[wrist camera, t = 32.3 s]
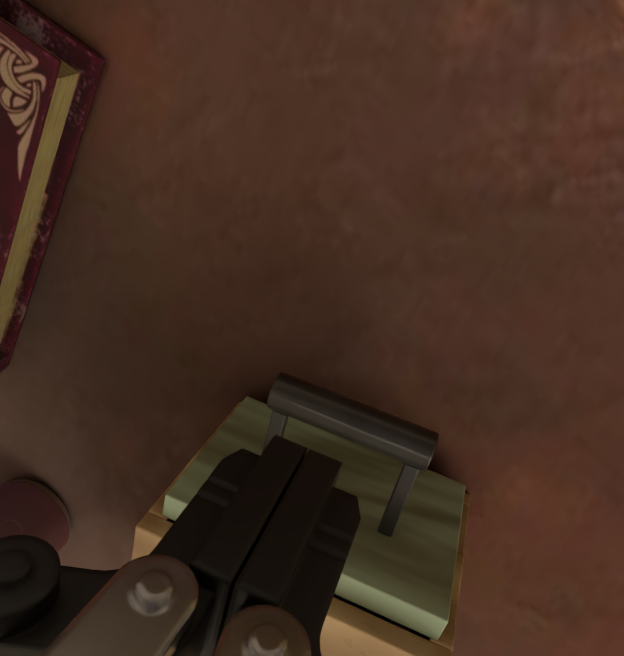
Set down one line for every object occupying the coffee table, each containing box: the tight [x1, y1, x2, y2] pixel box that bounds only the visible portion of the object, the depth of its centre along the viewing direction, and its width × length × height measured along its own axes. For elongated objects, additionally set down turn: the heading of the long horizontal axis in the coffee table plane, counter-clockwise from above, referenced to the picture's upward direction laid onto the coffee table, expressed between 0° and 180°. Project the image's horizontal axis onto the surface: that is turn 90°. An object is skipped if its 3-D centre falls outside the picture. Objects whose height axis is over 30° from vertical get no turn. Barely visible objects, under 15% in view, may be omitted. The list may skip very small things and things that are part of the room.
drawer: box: [162, 372, 466, 640], centre depth 27 cm, size 19×12×8 cm, turn 166°
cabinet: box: [131, 402, 470, 656], centre depth 29 cm, size 15×13×10 cm
